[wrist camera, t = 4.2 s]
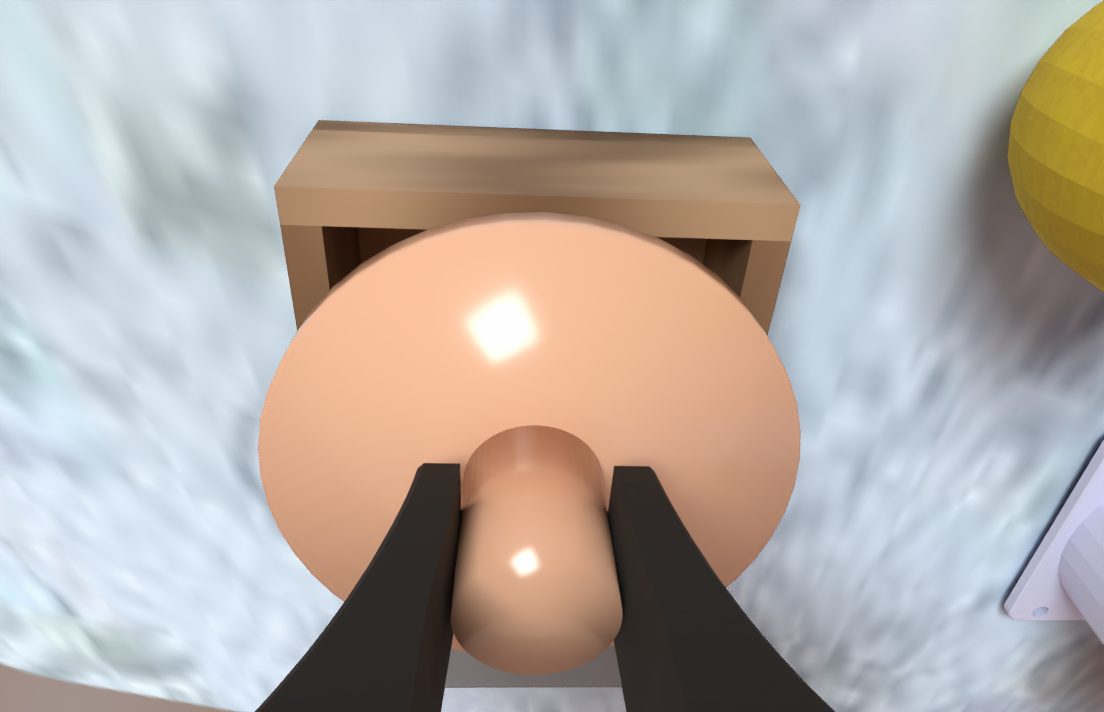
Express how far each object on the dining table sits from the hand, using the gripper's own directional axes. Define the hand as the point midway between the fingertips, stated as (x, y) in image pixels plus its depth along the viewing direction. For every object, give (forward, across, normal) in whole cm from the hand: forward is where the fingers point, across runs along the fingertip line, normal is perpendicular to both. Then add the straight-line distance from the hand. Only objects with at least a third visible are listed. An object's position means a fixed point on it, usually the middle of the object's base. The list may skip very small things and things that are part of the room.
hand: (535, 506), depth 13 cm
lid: (+2, 0, 0) cm, 2 cm away
